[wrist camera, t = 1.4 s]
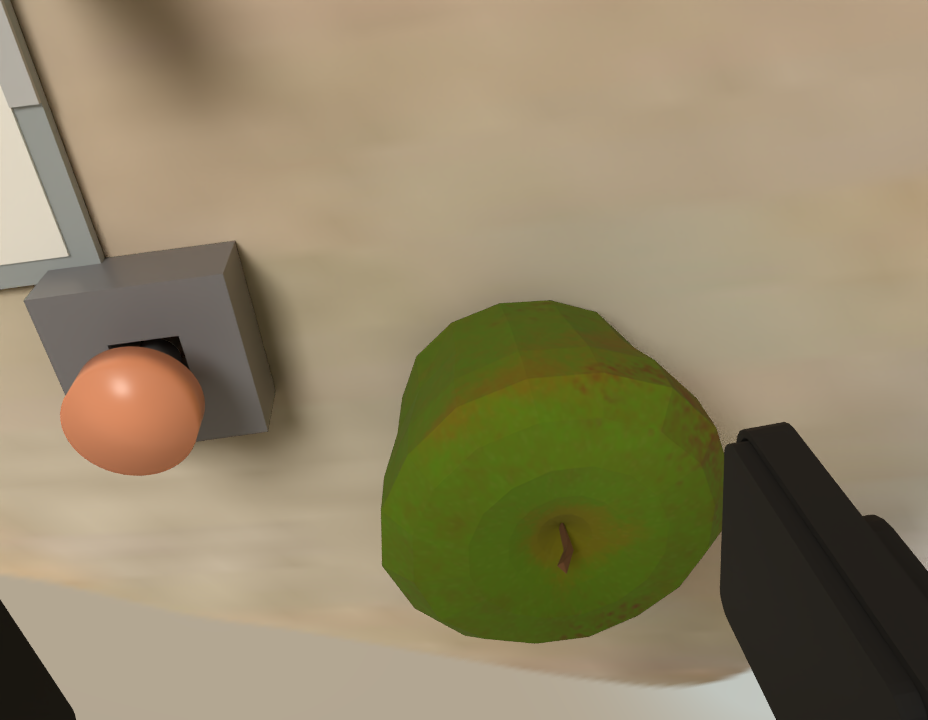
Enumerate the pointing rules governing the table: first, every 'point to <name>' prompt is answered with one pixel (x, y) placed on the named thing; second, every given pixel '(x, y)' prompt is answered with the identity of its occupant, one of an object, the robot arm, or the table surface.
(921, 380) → the table surface
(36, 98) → the white flat board
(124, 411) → the button
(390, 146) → the table surface
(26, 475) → the table surface
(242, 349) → the button housing
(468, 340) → the apple
